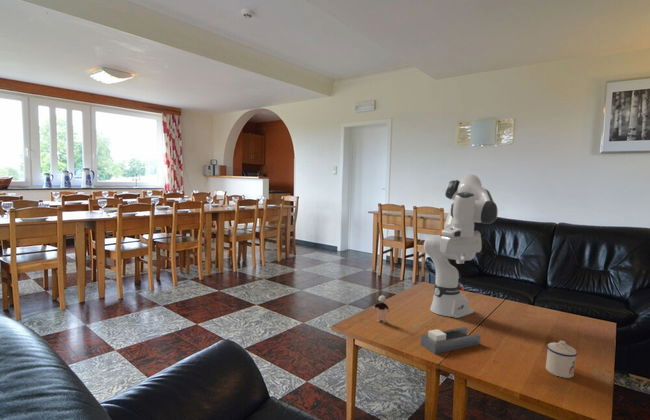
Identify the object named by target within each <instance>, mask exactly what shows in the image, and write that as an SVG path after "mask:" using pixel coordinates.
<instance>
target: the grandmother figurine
mask: <svg viewBox="0 0 650 420" xmlns="http://www.w3.org/2000/svg"><path fill="white" fill-rule="evenodd" d="M377 300H378V301H379V302H377V303H375V305H374V306H373V308H372V309H373V310H374V311H375V310H376V309H377V323H381V324H382V323H383V324H385V323H388V322H387V315H386V311H387V313H390V308H389V306H388V305H387V304H386V303H385V302H386V296H385V295H383V294H382V295H379V297H378V299H377Z"/></svg>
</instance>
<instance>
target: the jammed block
mask: <svg viewBox="0 0 650 420" xmlns="http://www.w3.org/2000/svg"><path fill="white" fill-rule="evenodd" d="M442 331H443V330H440V329H439V328H438V329H437V328H435V329H431V330H428V332H427V334H428V337H429V338H430V339H432V340H433V341H435V342H439V341H444V340H446V334H445V333H444V332H442Z"/></svg>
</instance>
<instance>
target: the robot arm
mask: <svg viewBox="0 0 650 420" xmlns="http://www.w3.org/2000/svg"><path fill="white" fill-rule="evenodd" d="M444 193H445V195H444V196H445V197H446V198H447V199H449V200H451V201H454V202H453V203H452V204H451V206H450V209H449V211H448V212H447V216H446V219H445V222H444V226H443V229H442V230H441V235H430V236H427V237H426V238H425V240H424V242H423V250H424V252H425V254H427V256H428V257H430V259H431V260H432V262H433V264H434V269H435V279H434V280H435V282H434V284H433V285H434V286H433V291H434V292H433V297H432V302H431V306H430V309H429V310H430V311H431V312H432V313H434V314H436V315H439V316H443V317H444V316H445V317H452V318H455V319H459V318H462V317H465V316H469V315H471V314H474V313H475V311H474V309H473V308H471V307H470V302H469V299H468V297H466V296H464V295H463V294H462V293H461V291H464V290H465V287H464V286H462V285H459V273H460V272H459V270H458V269H457V267H455V266H454V265H453V264H451V263H450V261H449V260H454V261H455V263H456V265H457V264H458V265H460V264H461V265H462V264H465V261H472V260H473V259H474V258H475V256H476V254H477V253H481V251H482V248H483V247H482V246H483V245H482V234H481V232H480V231H479V230H475V223H477V224H478V223H479V224H485V225H491V224H492V223H494V222H496V220H497V218H498V215H499V213H498V212H499V210H498V207H497V203H495V201H494V199H493V197H492V195H491V192H490V191H489V190H488V189H486V188H484V187H483V185H482V181H481V179H480V178H479V176H477V175H475V174H467V175H465V176H463V177H462V178H461V180H459V179H456V180H455V179H454V180H450V181H449V182H448V183H447V185H446V186H445V189H444Z"/></svg>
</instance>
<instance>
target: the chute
mask: <svg viewBox="0 0 650 420" xmlns="http://www.w3.org/2000/svg"><path fill="white" fill-rule="evenodd" d="M441 331H442V332H444V333H445V334H446V340H444V341H439V342H435V341H433V340H432V339H430V338H429V337H428V333H425V334H421V335H420V345H421V346H422V347H424V348H425V349H427V350H428V351H429V352H431V353H432V354H434V355H437V354H442V353H447V352H452V351H456V350H461V349H465V348H471V347H475V346H479V344H481V336H482V335H481V334H479V333H477V334H476V333H475V334H470V335H468V327H466V326H463V327H458V328H457V327H456V328H451V329H447V330H441Z"/></svg>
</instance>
